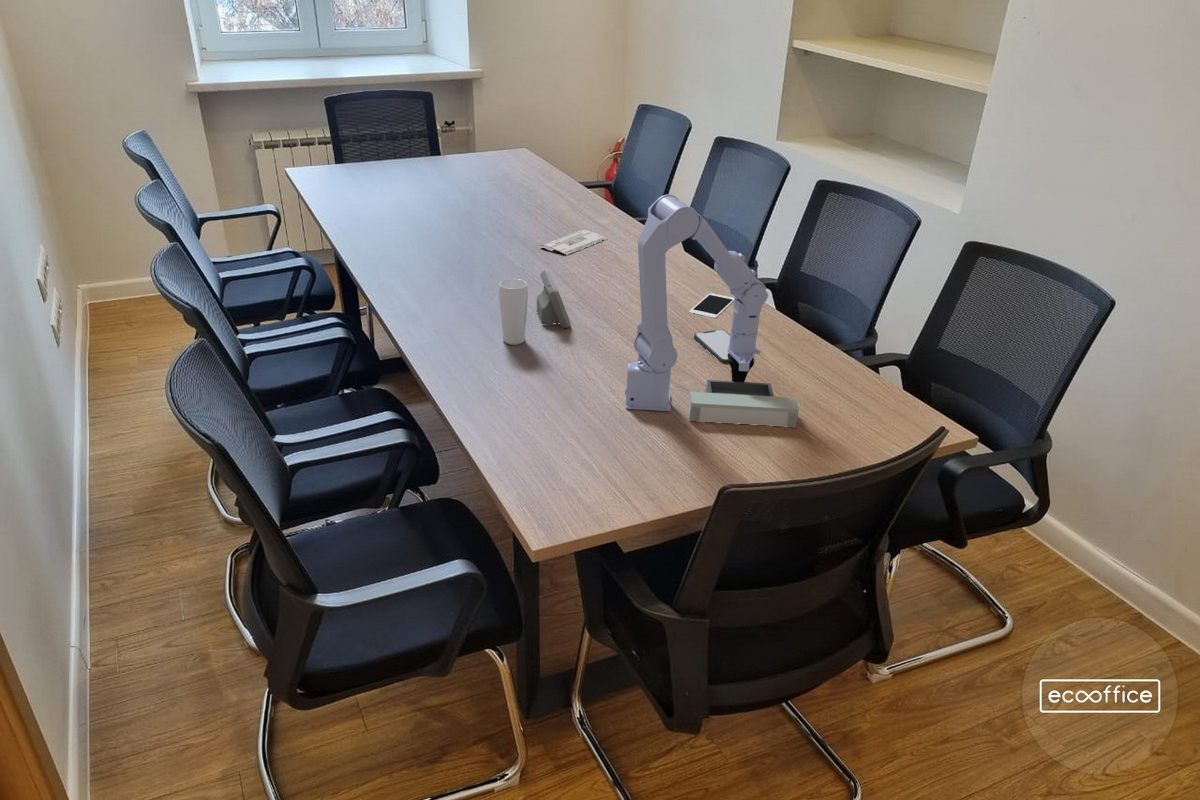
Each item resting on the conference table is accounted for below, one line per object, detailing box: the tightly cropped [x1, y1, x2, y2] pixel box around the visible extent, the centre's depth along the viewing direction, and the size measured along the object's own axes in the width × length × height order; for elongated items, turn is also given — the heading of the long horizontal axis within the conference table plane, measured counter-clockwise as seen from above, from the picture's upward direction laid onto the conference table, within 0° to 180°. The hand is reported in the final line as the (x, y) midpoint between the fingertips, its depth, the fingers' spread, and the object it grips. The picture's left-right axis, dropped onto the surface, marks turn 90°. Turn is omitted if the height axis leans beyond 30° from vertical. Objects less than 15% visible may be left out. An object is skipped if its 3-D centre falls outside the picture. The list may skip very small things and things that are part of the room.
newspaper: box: [542, 229, 608, 255], centre depth 280 cm, size 23×12×2 cm, turn 143°
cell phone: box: [688, 292, 735, 319], centre depth 238 cm, size 8×16×1 cm, turn 153°
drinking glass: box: [498, 278, 529, 346], centre depth 210 cm, size 7×7×15 cm
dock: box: [688, 391, 800, 428], centre depth 183 cm, size 22×6×4 cm, turn 86°
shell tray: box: [705, 379, 775, 397], centre depth 190 cm, size 14×8×3 cm, turn 87°
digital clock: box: [536, 270, 571, 329], centre depth 225 cm, size 16×9×11 cm, turn 1°
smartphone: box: [693, 329, 730, 364], centre depth 214 cm, size 9×2×16 cm
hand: (737, 385), depth 194 cm, fingers closed
